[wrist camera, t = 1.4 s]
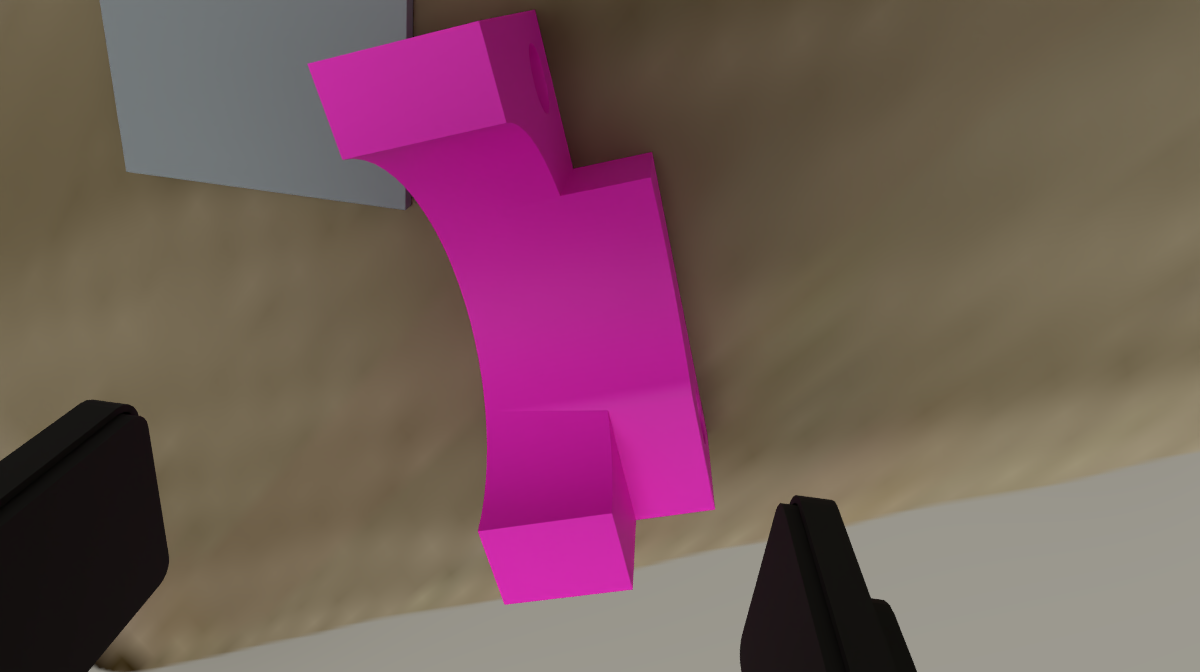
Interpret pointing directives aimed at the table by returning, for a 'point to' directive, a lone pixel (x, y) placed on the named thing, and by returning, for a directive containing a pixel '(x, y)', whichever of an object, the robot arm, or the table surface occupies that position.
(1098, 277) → the table surface
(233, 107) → the mat
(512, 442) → the toy block
